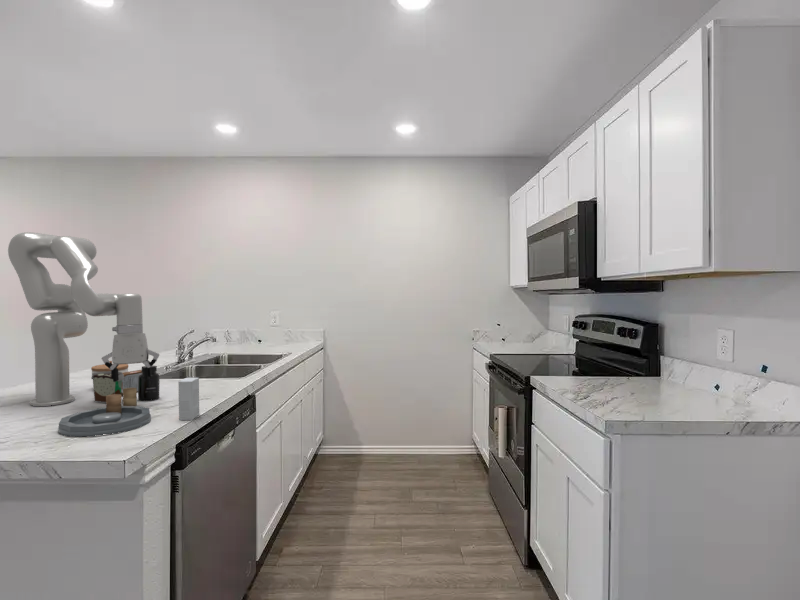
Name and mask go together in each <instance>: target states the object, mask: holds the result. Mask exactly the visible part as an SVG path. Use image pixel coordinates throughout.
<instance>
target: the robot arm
mask: <svg viewBox="0 0 800 600" xmlns="http://www.w3.org/2000/svg"><path fill="white" fill-rule="evenodd" d="M7 248H8V249H7V252H8V253H7V255H8V259H9V261H10V263H11V265H12V268H14V270H15V273H16V274H17V276H18V279H19V282H20V283H19V284H20V285H21V288H22V291H23V295H24V296H25V299H26V301H27V305H29V307H30V308H31V309H33V310H34V311H42V312H43V311H44V313H40V314H38V315H36V316H35V317H34V318H33V319H32V321H31V324H30V332H31V334H32V338H33V339H32V340H33V345H34V359H35V360H34V362H35V363H34V369H35V371H34V374H35V378H34V379H35V380H34V381H35V382H34V383H35V384H34V385H35V391H34V392H35V393H34V394H35V398H33V399H31V400H30V401H29V405H30V406H31V405H33V407H50V406H51V405H52V406H57V405H58V406H59V405H64V404H67V403H71V402H74V401H75V400H76V396H75V395H71V394H70V350H69V347H68V345H67V343H66V341H65V340H64V339H70V338H77V337H80V336H82V335H84V334H85V333H86V332H87V330H88V318H87V315H88V316H91V317H106V316H108V317H109V316H116V326H114V327H113V326H112V327H111V330H112V332H116V334H114V335H113V339H112V348H111V349H112V352H110V353H108V354H106V355H104V356H101V360H102V362H103V363H104V364H105V365H106V366H107V367H108V368H110V370H111V377H112V379H113V382H116V381H118V380H119V377H118V369H117V366H118V365H119V364H128V365H130V364H133V365H134V364H143V365H144V366H146V368H145V379H146V380H148V379H149V378H150V377H151V366H152V365H153V366H154V364H156V363H157V361H158V359H159V356H160V353H158V352H156V351H153V350H151V349H149V345H148V341H147V335H146V333H145V332H144V327H143V298H142V296H141V294H139V293H98V292H96V291H95V290H94V288H93V287H92V285H90V282H89V281H90V280H91V279H93V278H94V277H95V276H96V275H97V274H98V271H99V268H98V266H97V264H96V263H95V262H94V261H93V260H94V259H95V258H96V256H97V251H98V250H97V247H96V246H95V244H94V243H93V241H91V240H89V239H87V238H83V237H75V236H70V235H69V236H68V235H61V236H60V235H55V234H54V235H53V234H46V233H41V232H40V233H39V232H29V231H27V232H20V233H18V234H17V233H16V234H15V235H14V236H12V238H11V239H10V241H9V244H8V247H7ZM38 258H41V259H45V258H46V259H51V260H52V259H54V260H56V261H57V262H58V263H59V264H60V265H61V267H62V269H64V271H65V272H66V273H67V275H68V276H69V277H70V278H71V282H70V285H68V284H63V283H54V282H53V280H52V277H51V275H50V271H49V270H48V269H47V268H46V266H45V264H43V263H42V262H41V261H40V260H39V259H38ZM45 311H50V312H45ZM51 311H54V312H51ZM86 314H87V315H86ZM150 356H152V357H153V358H152V360H151V361H150V360H149V357H150ZM110 358H111V361H112V363H111V362H109V361H110ZM52 406H51V407H52Z"/></svg>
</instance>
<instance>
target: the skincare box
mask: <svg viewBox="0 0 800 600" xmlns="http://www.w3.org/2000/svg"><path fill="white" fill-rule="evenodd" d="M199 415H200V377H185V378H182V379H180V380H179V381H178V420H179V421H193V420H194V419H195V418H197V417H198V416H199Z"/></svg>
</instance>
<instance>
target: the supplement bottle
mask: <svg viewBox="0 0 800 600" xmlns="http://www.w3.org/2000/svg"><path fill="white" fill-rule="evenodd" d="M145 368H146V366H145V365H144V366H141V369H140V370H141V372H142V374H140V375H139V377H138V392H137V399H138V400H139V401H140V402H148V401H155V400H158V399H159V398H160V380H161V379H160V373H157V371H158V370H157V365H154V364H153V365H152V366H151V377H150V378H149V379H148V380H146V379H145Z"/></svg>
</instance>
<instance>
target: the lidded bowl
mask: <svg viewBox="0 0 800 600" xmlns="http://www.w3.org/2000/svg"><path fill="white" fill-rule="evenodd" d="M109 362H111V363H112V364H113V362H112V360H109ZM117 369H118V372H122V373H124V372H129V364H119V365H118V366H117ZM90 371H91V374H92V373H98V372H111V370H110V368H108V367H107V366H106V365H105V363H104V364H98V365H94V366H92V367H91V369H90Z"/></svg>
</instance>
